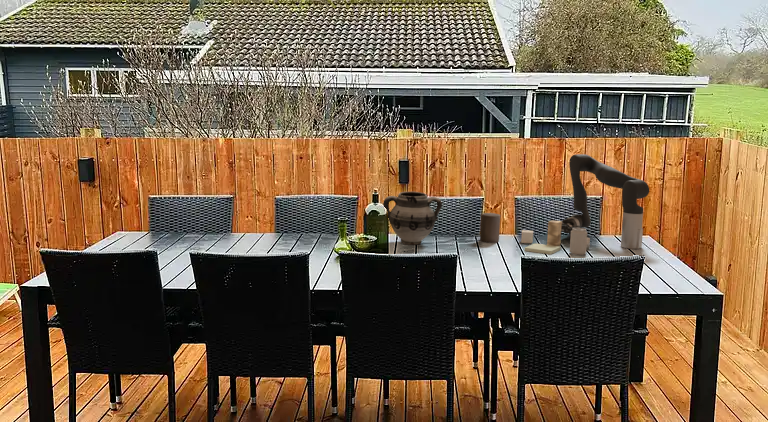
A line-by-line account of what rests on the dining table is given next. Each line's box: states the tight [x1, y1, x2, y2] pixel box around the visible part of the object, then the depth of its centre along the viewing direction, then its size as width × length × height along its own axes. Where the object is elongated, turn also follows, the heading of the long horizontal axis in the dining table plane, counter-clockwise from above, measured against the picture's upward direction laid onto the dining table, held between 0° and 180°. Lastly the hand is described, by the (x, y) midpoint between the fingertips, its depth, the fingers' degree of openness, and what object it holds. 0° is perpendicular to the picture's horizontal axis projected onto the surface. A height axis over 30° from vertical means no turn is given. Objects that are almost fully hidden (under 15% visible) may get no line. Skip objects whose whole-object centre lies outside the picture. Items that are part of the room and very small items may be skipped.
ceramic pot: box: [382, 190, 443, 246], centre depth 337 cm, size 29×23×25 cm
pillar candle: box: [479, 211, 501, 244], centre depth 347 cm, size 10×10×15 cm
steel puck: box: [586, 236, 591, 251], centre depth 334 cm, size 6×6×5 cm
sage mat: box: [524, 243, 562, 255], centre depth 328 cm, size 13×13×2 cm
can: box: [569, 228, 588, 256], centre depth 321 cm, size 8×8×12 cm
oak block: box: [546, 219, 563, 247], centre depth 340 cm, size 5×5×12 cm
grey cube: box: [520, 229, 534, 244], centre depth 348 cm, size 6×6×6 cm
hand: (559, 229), depth 345 cm, fingers open, 8 cm apart
